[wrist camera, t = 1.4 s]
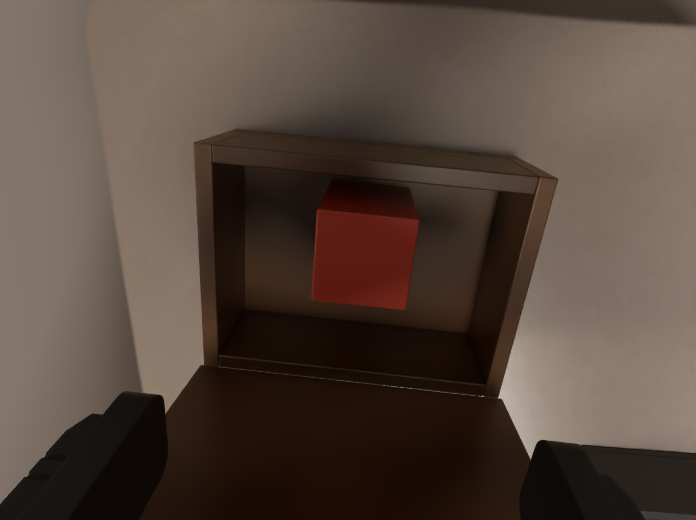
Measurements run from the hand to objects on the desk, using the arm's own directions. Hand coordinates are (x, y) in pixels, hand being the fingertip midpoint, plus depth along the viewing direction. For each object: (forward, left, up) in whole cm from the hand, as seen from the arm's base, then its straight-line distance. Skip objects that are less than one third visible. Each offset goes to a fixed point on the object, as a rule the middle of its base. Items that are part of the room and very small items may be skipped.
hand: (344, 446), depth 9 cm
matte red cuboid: (0, 0, -17) cm, 17 cm away
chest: (+1, +1, -17) cm, 17 cm away
